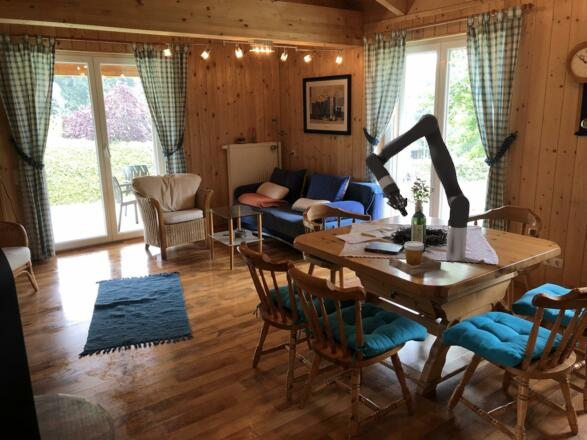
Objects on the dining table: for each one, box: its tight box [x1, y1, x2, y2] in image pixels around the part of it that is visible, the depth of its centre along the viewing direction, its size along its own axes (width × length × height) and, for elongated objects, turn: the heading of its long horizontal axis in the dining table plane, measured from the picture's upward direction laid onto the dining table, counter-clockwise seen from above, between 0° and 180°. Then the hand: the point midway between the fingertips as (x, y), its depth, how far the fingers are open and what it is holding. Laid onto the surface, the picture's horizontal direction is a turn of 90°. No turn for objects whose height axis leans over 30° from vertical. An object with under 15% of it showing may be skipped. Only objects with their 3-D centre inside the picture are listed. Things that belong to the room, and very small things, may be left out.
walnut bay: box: [388, 254, 442, 277], centre depth 225 cm, size 18×17×4 cm
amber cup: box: [403, 240, 425, 266], centre depth 225 cm, size 10×10×12 cm
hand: (405, 215), depth 222 cm, fingers closed
